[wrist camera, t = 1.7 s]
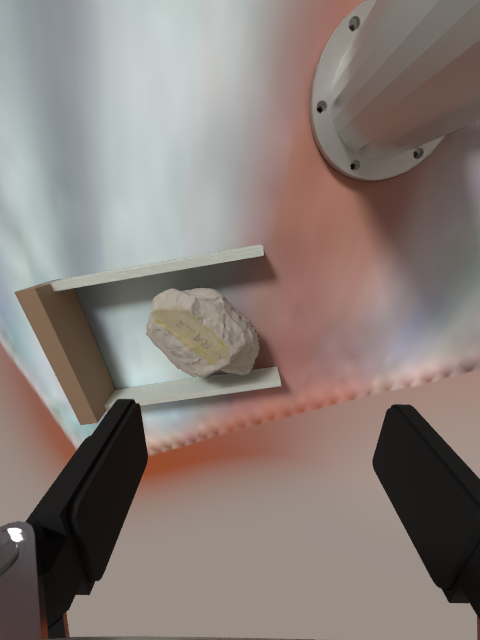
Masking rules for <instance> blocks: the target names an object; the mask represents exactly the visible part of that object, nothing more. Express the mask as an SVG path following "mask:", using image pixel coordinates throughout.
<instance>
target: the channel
mask: <svg viewBox="0 0 480 640" xmlns="http://www.w3.org/2000/svg"><path fill="white" fill-rule="evenodd" d="M258 256H264V251H263V246H262V245H261V244H259V245H253V246H248V247H242V248H236V249H231V250H225V251H219V252H213V253H208V254H202V255H196V256H191V257H185V258H179V259H173V260H168V261H162V262H156V263H150V264H145V265H139V266H133V267H128V268H122V269H116V270H110V271H105V272H99V273H93V274H87V275H82V276H76V277H70V278H65V279H59V280H53V281H50V282H46V283H43V284H40V285H36V286H33V287H30V288H26V289H23V290H20V291H17V292H15V294H16V296H17V298H18V300H19V302H20V304H21V306H22V308H23V310H24V312H25V314H26V316H27V318H28V320H29V322H30V324H31V326H32V328H33V330H34V332H35V334H36V336H37V338H38V340H39V342H40V344H41V346H42V349H43V351H44V353H45V355H46V357H47V359H48V361H49V363H50V365H51V367H52V369H53V371H54V373H55V375H56V377H57V379H58V381H59V383H60V385H61V387H62V389H63V391H64V393H65V395H66V397H67V399H68V401H69V403H70V405H71V407H72V409H73V411H74V413H75V415H76V417H77V419H78V421H79V423H80V425H84V424H92V423H98V421H99V420H100V419H101V417H102V416H103V414H104V413H105V412H106V410H110V408H111V407H112V405H113V404H114V403H115V401H116V400H117V399H134V400H135V402H136V403H139V404H140V406H142V405H149V404H156V403H163V402H170V401H178V400H185V399H192V398H199V397H206V396H214V395H221V394H228V393H235V392H242V391H250V390H257V389H264V388H271V387H278V386H281V380H280V376H279V372H278V369H277V366H275V367H268V368H262V369H255V370H251V372H250V373H248V374H246V375H238V374H235V373H227V374H220V375H213V376H208V377H202V378H200V377H199V378H192V379H185V380H178V381H171V382H164V383H157V384H151V385H144V386H137V387H130V388H123V389H115V386H114V384H113V382H112V379H111V377H110V374H109V372H108V369H107V367H106V365H105V362H104V360H103V357H102V355H101V352H100V350H99V348H98V345H97V343H96V340H95V338H94V335H93V333H92V331H91V328H90V326H89V323H88V321H87V318H86V316H85V313H84V311H83V309H82V306H81V304H80V301H79V299H78V296H77V294H76V292H75V289H74V288H77V287H83V286H89V285H95V284H101V283H107V282H112V281H118V280H124V279H130V278H136V277H142V276H147V275H153V274H159V273H165V272H171V271H176V270H182V269H188V268H194V267H200V266H206V265H211V264H217V263H223V262H229V261H235V260H241V259H246V258H252V257H258Z"/></svg>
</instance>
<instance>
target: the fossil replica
mask: <svg viewBox="0 0 480 640" xmlns="http://www.w3.org/2000/svg"><path fill="white" fill-rule="evenodd" d="M152 303H153V305H152V311H151V313H150V317H149V320H148V323H147V334H146V335H147V336H148V337H149V338H150V339H151V341H152V342H153V343H154V344H155V346H157V347H158V348H159V349H160V350H161V351H162V352H163V353H164V354H165V355H166V356H167V358H168V359H169V360H170V361H171V362H172V363H173V364H174V365H175V366H176V367H177V368H178V369H181V370H182V371H184V372H185V373H187V374H189V375H191V376H192V377H196V376H198V377H200V378H202V377H208V376H209V375H210V374H212V373H214V372H216V371H218V370H221V371H223V372H226V373H235V374H238V375H246V374H248V373H250V372H251V370H252V368H253V364H254V363H255V358H257V356H258V352H259V350H260V348H259V345H260V344H259V342H258V340H259V338H258V337H257V332H255V328H254V327H252V323H250V322H249V320H248V319H247V318H244V316H243V315H242V314H239V312H238V311H237V310H236V309H233V308H232V305H231V304H230V302H228V301H227V300H226V298H225V297H224V296H223V294H222V293H220V292H219V291H217V290H215V289H211V288H194V289H192V290H184V291H179V290H177V289H173V288H172V289H169V290H166V291H164V292H161V293H159V294H158V295H157V296H155V297H154V299H153V301H152Z"/></svg>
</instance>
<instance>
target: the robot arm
mask: <svg viewBox="0 0 480 640" xmlns="http://www.w3.org/2000/svg"><path fill="white" fill-rule="evenodd" d="M349 28H350V29H352V31H351V30H350V29H349ZM309 106H310V122H311V127H312V133H313V136H314V138H315V141H316V144H317V146H318V148H319V150H320V151H321V153H322V155H323V156H324V158H325V159H326V160H327V161H328V162H329V164H330V165H331V166H332V167H333V168H334V169H336V170H337V171H339V172H340V173H342V174H343V175H345V176H348V177H350V178H353V179H356V180H363V181H377V180H383V179H387V178H391V177H394V176H396V175H399V174H402V173H404V172H406V171H408V170H410V169H411V168H413V167H414V166H416V165H418V164H419V163H420V162H421V161H423V160H424V159H425V158H426V157H427V156H428V155H430V154H431V153H432V152H433V150H434V149H435V148H436V147H437V146H438V145H439V144H440V142H441V141H442V140H443V138H444V137H445V135H447V134H449V133H452V132H454V131H456V130H459V129H461V128H463V127H466V126H468V125H470V124H473V123H475V122H477V121H480V0H365V1H364V2H362V3H361V4H359V5H358V6H357V7H356V8H355V9H354V10H353V11H352V12H350V13H349V14H348V15H347V16H346V17H345V18H344V20H343V21H342V22H341V23H340V25H339V26H338V27H337V29H336V30H335V31H334V32H333V34H332V36H331V38H330V39H329V41H328V43H327V45H326V47H325V49H324V50H323V53H322V55H321V57H320V59H319V62H318V64H317V67H316V70H315V74H314V77H313V81H312V85H311V93H310V100H309ZM317 108H320V109H321V113H319V112H318V111H317ZM413 153H414V156H413ZM351 164H352V165H353V166H354V168H353V170H352V169H351V167H350V165H351ZM147 460H148V453H147V447H146V441H145V434H144V428H143V421H142V415H141V409H140V404H139V403H136V402H135V400H134V399H117V400H116V401H115V403H114V404H113V405H112V407H111V408H110V410H109V411H108V412H107V414H106V415H105V417H104V418H103V420H102V421H101V422H100V424H99V425H98V427H97V428H96V430H95V431H94V432H93V434H92V435H91V436H89V437H87V438H86V439H85V440H84V441H83V443H82V444H81V445H80V447H79V448H78V450H77V451H76V452H75V454H74V455H73V456H72V458H71V459H70V461H69V462H68V463H67V465H66V466H65V468H64V469H63V470H62V472H61V473H60V475H59V476H58V477H57V479H56V480H55V481H54V483H53V484H52V486H51V487H50V488H49V490H48V491H47V493H46V494H45V496H44V497H43V498H42V500H41V501H40V502H39V504H38V505H37V507H36V508H35V509H34V511H33V512H32V513H31V515H30V516H29V518H28V519H27V520H26V522H20V521H18V522H13V523H8V524H6V525H4V526H1V527H0V640H311V639H266V638H210V637H208V638H207V637H148V636H134V637H133V636H130V637H128V636H127V637H69V629H68V621H67V614H66V611H68V610H69V608H70V606H71V603H72V602H73V599H74V597H75V595H90V593H91V590H92V588H93V585H94V583H95V581H99V580H100V579H101V578H102V576H103V574H104V572H105V569H106V567H107V564H108V562H109V559H110V556H111V554H112V551H113V549H114V546H115V544H116V541H117V539H118V536H119V534H120V531H121V528H122V526H123V523H124V520H125V518H126V516H127V513H128V510H129V508H130V505H131V503H132V500H133V498H134V495H135V493H136V490H137V488H138V485H139V483H140V480H141V477H142V475H143V472H144V470H145V467H146V464H147ZM373 467H374V470H375V472H376V474H377V476H378V478H379V480H380V482H381V484H382V486H383V488H384V489H385V491H386V493H387V495H388V497H389V499H390V501H391V503H392V504H393V506H394V508H395V510H396V512H397V514H398V516H399V518H400V520H401V522H402V523H403V525H404V527H405V529H406V531H407V533H408V535H409V537H410V539H411V540H412V542H413V544H414V546H415V548H416V550H417V552H418V553H419V555H420V558H421V559H422V561H423V563H424V565H425V567H426V569H427V571H428V573H429V574H430V576H431V578H432V580H433V582H434V583H435V584H436V586H438V587H439V588H441V589H442V590H443V592H444V594H445V596H446V597H447V600H448V601H449V603H469V602H470V604H471V606H472V607H473V609H474V611H475V613H476V614H477V640H480V479H479V478H478V477H477V476H476V475H475V473H474V472H472V470H471V469H470V468H469V467H468V466H467V465H466V464H465V463H464V462H463V460H462V459H461V458H460V457H459V456H458V455H457V454H456V453H455V452H454V451H453V450H452V448H451V447H450V446H449V445H448V444H447V443H446V442H445V441H444V440H443V439H442V438H441V437H440V435H439V434H438V433H437V432H436V431H435V430H434V429H433V428H432V427H431V426H430V425H429V423H428V422H427V421H426V420H425V419H424V418H423V417H422V416H421V415H420V414H419V413H418V411H417V410H416V409H415V408H414V407H413V406H411V405H392V406H391V408H389V409H388V410H387V412H386V415H385V419H384V422H383V426H382V429H381V432H380V436H379V440H378V443H377V447H376V450H375V453H374V457H373ZM312 640H313V639H312Z"/></svg>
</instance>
